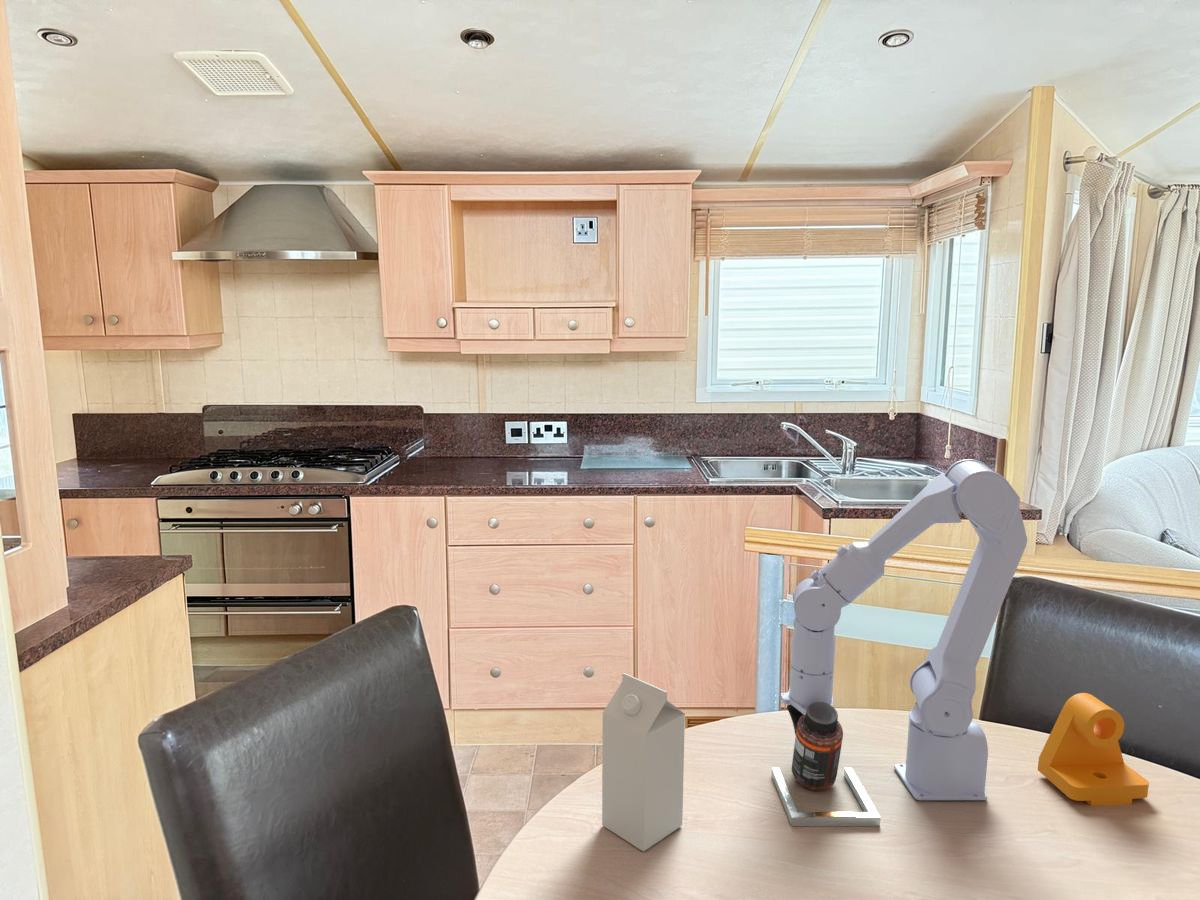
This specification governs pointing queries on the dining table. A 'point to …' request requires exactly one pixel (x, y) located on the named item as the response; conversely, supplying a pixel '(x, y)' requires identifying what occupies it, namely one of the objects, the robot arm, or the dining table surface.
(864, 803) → the frame
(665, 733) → the milk carton
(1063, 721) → the bracket
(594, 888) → the dining table surface
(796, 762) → the supplement bottle
